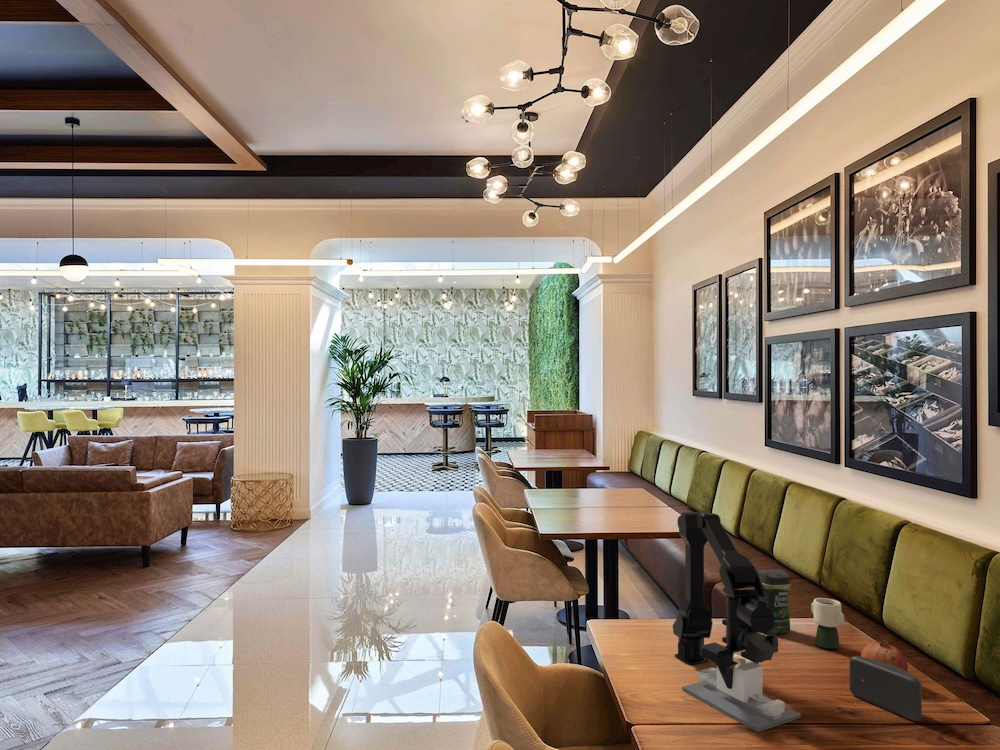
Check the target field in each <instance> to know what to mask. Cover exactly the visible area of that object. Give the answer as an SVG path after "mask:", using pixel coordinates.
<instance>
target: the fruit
mask: <svg viewBox="0 0 1000 750" xmlns="http://www.w3.org/2000/svg"><path fill="white" fill-rule="evenodd" d="M860 657H866V658H870V659H874V660H878V661H881V662H885V663H888V664H891V665H893V666H896V667H898V668H901V669H903V670H905V671H907V672H908V671H909V670H908V669H909V668H908V667H909V666H908V665H909V664H908V661H907V658H906V656H905V655H904V654H903V652H902V651H901V650H900V649H898V648H897V647H895V646H893V645H890V644H889V642H888V641H886V640H884V639H882V640H881V641H879V642H874V643H869V644H866V646H865V647H864V648H863V649H862V651H861V653H860Z"/></svg>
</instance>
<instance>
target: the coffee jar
mask: <svg viewBox="0 0 1000 750" xmlns="http://www.w3.org/2000/svg"><path fill="white" fill-rule="evenodd" d="M757 572H758V575H759V578H760V580H761V582H762V585H763V587H764V593H765V597H760V598H759V599H762V600H764V601H766V607H767V608H769V609H770V610H771V611H772V612H773V614H774V617H775V623H774V626H773V627H772V629H771V630H770V631H768V632H766V633H765V634H768V635H771V634H774V635H782V634H783V635H784V634H788V633H790V632H791V621H790V620H791V619H790V609H789V608H790V607H789V592H790V588H791V576H790V574H789V571H786V570H783V569H781V568H777V569H773V568H772V569H758V571H757Z"/></svg>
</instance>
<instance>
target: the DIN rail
mask: <svg viewBox="0 0 1000 750" xmlns="http://www.w3.org/2000/svg"><path fill="white" fill-rule="evenodd" d="M716 678H717V668H715V667H709V668H704V669H701V670H697V680H698V681H699V682H701V683H702V684H704V685H706V686H708V687H710V688H712V689H714V690H715V691H717V692H719V693H721V694H723V695H725V696H727V697H729V698H731V699H733V700H734V701H736V702H738V703H740V704H742V705H744V706H746V707H748V708H750V709H751V710H753V711H755V712H757V713H759V714H761V715H763V716H765V717H767V718H769V719H770V720H772V721H777V720H780V719H781V713H782V712H785V707H786V706H785V701H783V700H780V699H778V698H777V699H775V700H773V701H771V702H768V703H765V704H762V703H760V702H758V701H756V700H754V699H752V698H750V697H748V702H742V701H740V700H738V699H736V698H734V697H732V696H730V695H729V694H727V693H725V692H723V691H721V690H719V689H717V680H715V679H716Z"/></svg>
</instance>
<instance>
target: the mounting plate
mask: <svg viewBox="0 0 1000 750" xmlns="http://www.w3.org/2000/svg"><path fill="white" fill-rule="evenodd" d="M715 680H717V678H716V679H715ZM681 690H682V691H683V692H684V691H685V693H686V692H687V694H688V695H690V696H691V697H693V696H694V697H693V698H695V699H697V700H699V701H701V702H702V703H704V704H706V705H708V706H709V707H711V708H713V709H715V710H716V711H719V712H721V713H722V714H723V715H726V716H727V717H729V718H731V719H733V720H735V721H736V722H738V723H740V724H741V725H744V726H745V727H747V728H749V729H751V730H752V731H754V732H756V733H759V732H762V731H765V730H768V729H771V728H774V727H778V726H781V725H783V724H786V723H789V722H792V721H795V719H796V720H798V718H799V719H801V718H802V713H800V712H798V711H795V710H793V709H792V708H789V707H788V706H785V712H782V713H781V719H780V720H777V721H772V720H770V719H769V718H767V717H765V716H763V715H761V714H759V713H757V712H755V711H753V710H751V709H750V708H748V707H746V706H744V705H742V704H740V703H738V702H736V701H734V700H733V699H731V698H729V697H727V696H725V695H723V694H721V693H719V692H717V691H715V690H714V689H712V688H710V687H708V686H706V685H704V684H702V683H701V681H699V682H695V683H691V684H688V685H683V686H681ZM749 697H750V698H752V699H754V700H756V701H758V702H760V703H762V704H765V703H768V702H771V701H774V700H773V699H771V698H769V697H767V696H765V695H763V694H762V697H761V698H757V697H755V696H749ZM800 717H801V718H800Z"/></svg>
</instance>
